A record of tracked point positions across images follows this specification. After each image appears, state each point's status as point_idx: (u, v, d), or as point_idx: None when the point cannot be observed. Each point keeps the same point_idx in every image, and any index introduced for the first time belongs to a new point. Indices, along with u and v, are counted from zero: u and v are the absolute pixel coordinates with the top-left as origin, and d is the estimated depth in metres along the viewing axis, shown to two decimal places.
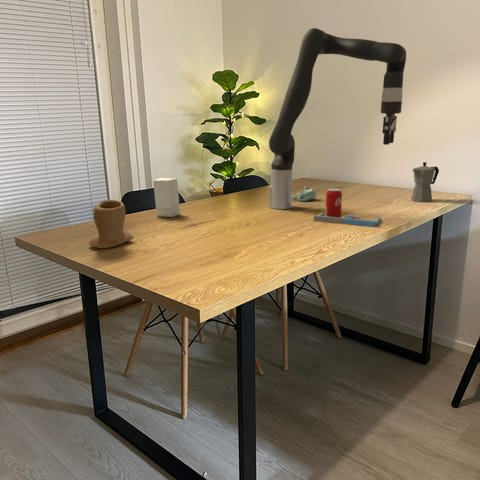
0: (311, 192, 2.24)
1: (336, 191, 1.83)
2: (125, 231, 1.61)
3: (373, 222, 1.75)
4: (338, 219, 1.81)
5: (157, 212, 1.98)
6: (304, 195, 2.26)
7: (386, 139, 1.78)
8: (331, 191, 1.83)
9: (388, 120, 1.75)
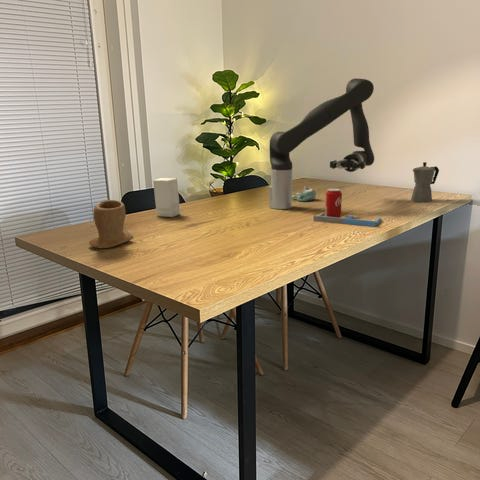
0: (311, 192, 2.24)
1: (336, 191, 1.83)
2: (125, 231, 1.61)
3: (373, 222, 1.75)
4: (338, 219, 1.81)
5: (157, 212, 1.98)
6: (304, 195, 2.26)
7: (356, 166, 1.92)
8: (331, 191, 1.83)
9: (364, 166, 1.98)
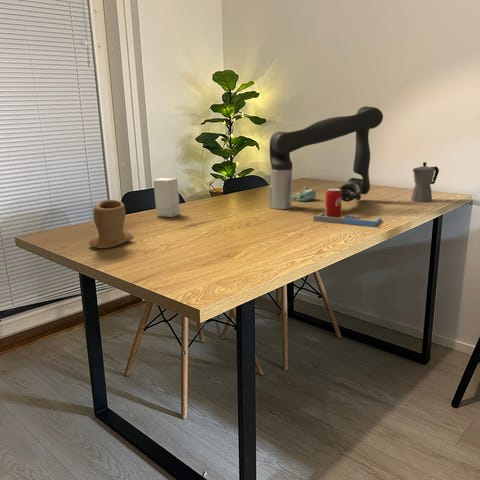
0: (310, 192, 2.24)
1: (336, 191, 1.83)
2: (125, 231, 1.61)
3: (373, 222, 1.75)
4: (338, 219, 1.81)
5: (157, 212, 1.98)
6: (304, 195, 2.25)
7: (352, 198, 1.92)
8: (331, 191, 1.83)
9: (360, 196, 1.98)
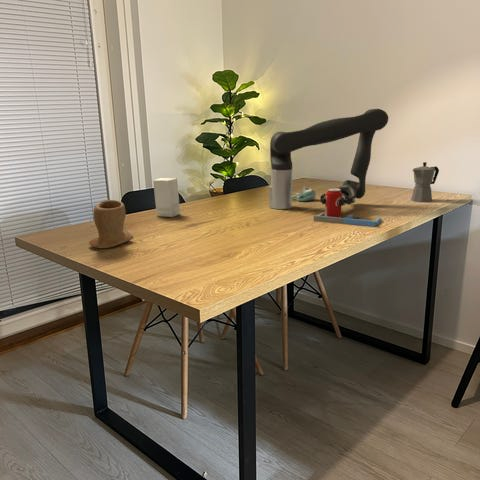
0: (310, 192, 2.23)
1: (336, 191, 1.83)
2: (125, 231, 1.61)
3: (373, 222, 1.75)
4: (338, 219, 1.81)
5: (157, 212, 1.98)
6: (303, 195, 2.25)
7: (343, 202, 1.84)
8: (331, 191, 1.83)
9: (354, 201, 1.89)
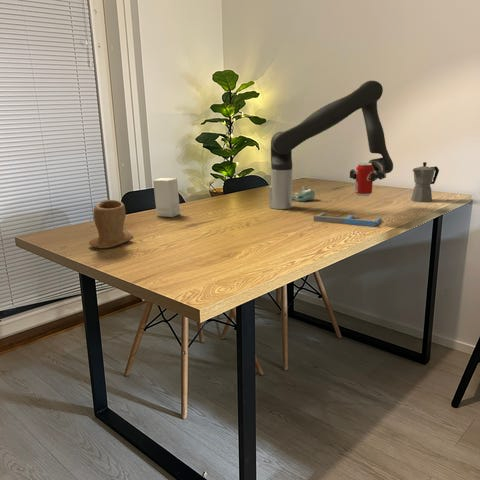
0: (309, 192, 2.23)
1: (368, 165, 1.75)
2: (125, 231, 1.61)
3: (373, 222, 1.75)
4: (338, 219, 1.81)
5: (157, 212, 1.98)
6: (302, 195, 2.25)
7: (375, 177, 1.76)
8: (362, 165, 1.75)
9: (385, 176, 1.81)
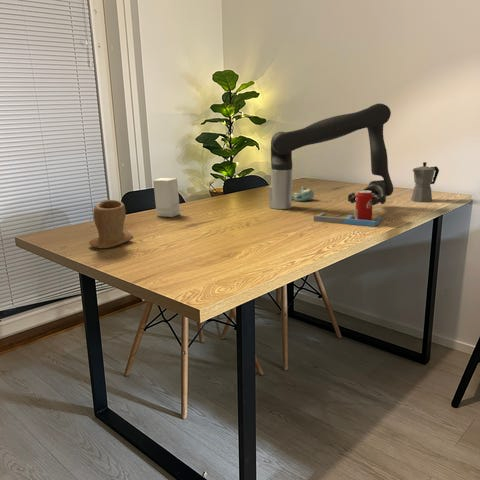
0: (308, 192, 2.23)
1: (367, 193, 1.77)
2: (125, 231, 1.61)
3: (373, 222, 1.75)
4: (338, 219, 1.81)
5: (157, 212, 1.98)
6: (301, 195, 2.25)
7: (377, 202, 1.78)
8: (362, 193, 1.78)
9: (385, 200, 1.84)
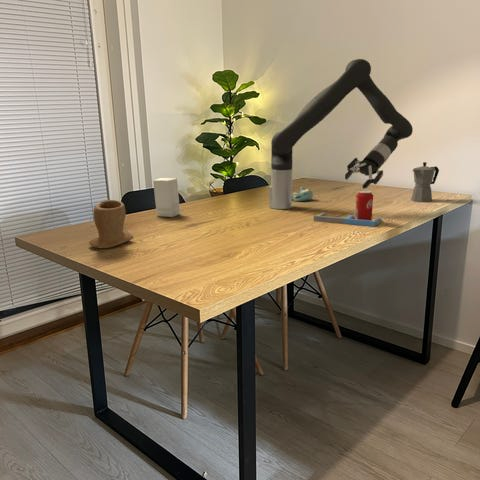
0: (307, 192, 2.23)
1: (367, 193, 1.77)
2: (125, 231, 1.61)
3: (373, 222, 1.75)
4: (338, 219, 1.81)
5: (157, 212, 1.98)
6: (300, 195, 2.25)
7: (368, 185, 1.91)
8: (362, 193, 1.78)
9: (381, 176, 1.92)
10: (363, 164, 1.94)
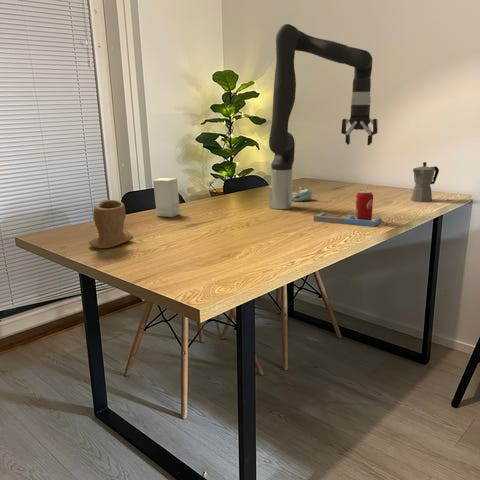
0: (306, 192, 2.23)
1: (368, 193, 1.77)
2: (125, 231, 1.61)
3: (373, 222, 1.75)
4: (338, 219, 1.81)
5: (157, 212, 1.98)
6: (299, 195, 2.25)
7: (371, 140, 1.91)
8: (362, 193, 1.78)
9: (377, 122, 1.89)
10: (354, 123, 1.90)
